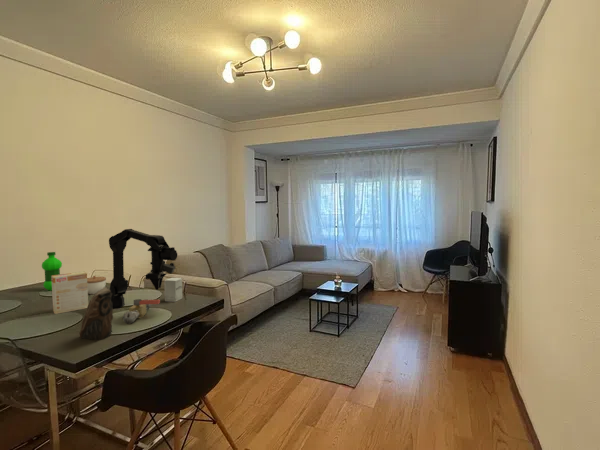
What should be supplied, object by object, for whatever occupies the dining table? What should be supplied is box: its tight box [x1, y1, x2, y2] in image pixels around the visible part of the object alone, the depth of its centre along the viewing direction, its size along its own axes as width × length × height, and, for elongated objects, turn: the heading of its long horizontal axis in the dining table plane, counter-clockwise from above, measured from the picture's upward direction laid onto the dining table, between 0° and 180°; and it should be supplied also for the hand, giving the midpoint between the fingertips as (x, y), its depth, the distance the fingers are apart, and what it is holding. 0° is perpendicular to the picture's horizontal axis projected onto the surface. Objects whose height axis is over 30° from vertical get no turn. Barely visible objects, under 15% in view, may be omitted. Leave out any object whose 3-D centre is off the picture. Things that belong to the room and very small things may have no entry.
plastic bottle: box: [41, 251, 63, 292], centre depth 214 cm, size 10×10×25 cm
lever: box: [133, 298, 161, 306], centre depth 164 cm, size 12×4×2 cm, turn 96°
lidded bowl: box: [87, 275, 107, 295], centre depth 207 cm, size 13×13×11 cm
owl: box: [79, 285, 114, 341], centre depth 139 cm, size 13×13×20 cm
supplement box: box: [163, 277, 183, 303], centre depth 191 cm, size 7×7×13 cm
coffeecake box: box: [51, 271, 89, 315], centre depth 173 cm, size 15×7×20 cm, turn 135°
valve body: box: [122, 298, 152, 325], centre depth 164 cm, size 6×21×6 cm, turn 6°
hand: (158, 288), depth 171 cm, fingers open, 3 cm apart
